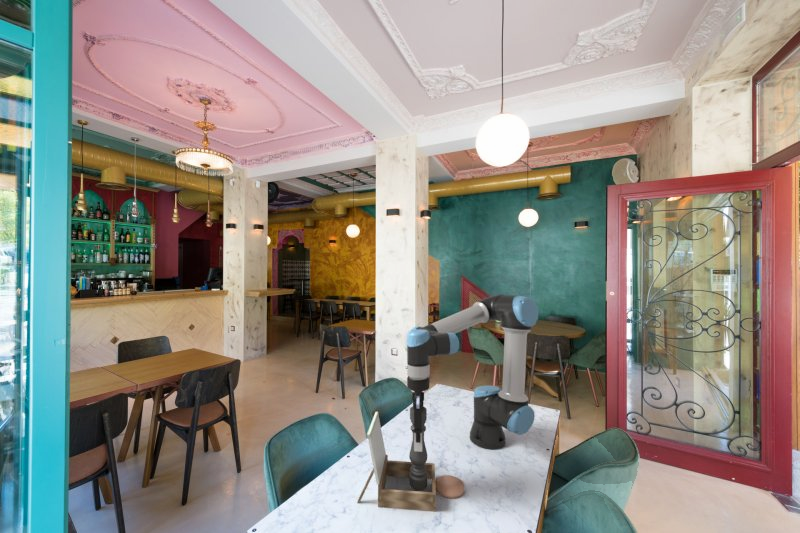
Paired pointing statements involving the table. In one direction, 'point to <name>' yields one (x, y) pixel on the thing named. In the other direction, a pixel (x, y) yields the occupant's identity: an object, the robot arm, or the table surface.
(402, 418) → the table surface
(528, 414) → the robot arm
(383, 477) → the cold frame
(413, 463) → the candle holder
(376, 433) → the frame lid
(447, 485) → the saucer
